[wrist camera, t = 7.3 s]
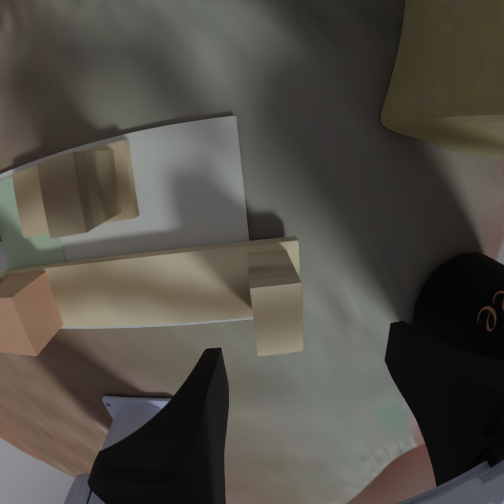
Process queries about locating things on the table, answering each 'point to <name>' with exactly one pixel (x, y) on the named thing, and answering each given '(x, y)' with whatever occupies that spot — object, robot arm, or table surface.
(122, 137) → the mat
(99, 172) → the broken strip
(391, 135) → the table surface
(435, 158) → the table surface
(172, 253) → the beige wooden beam
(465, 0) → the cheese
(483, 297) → the coffee jar
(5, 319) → the cube
